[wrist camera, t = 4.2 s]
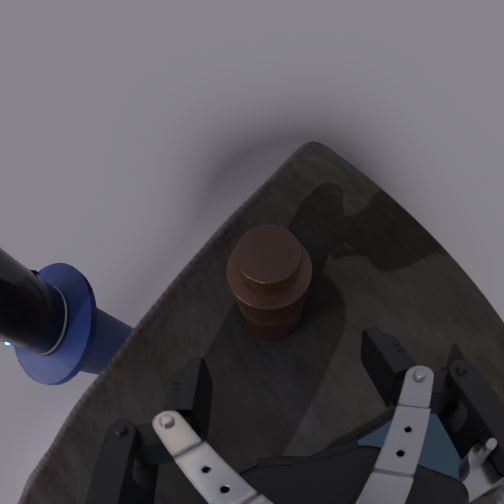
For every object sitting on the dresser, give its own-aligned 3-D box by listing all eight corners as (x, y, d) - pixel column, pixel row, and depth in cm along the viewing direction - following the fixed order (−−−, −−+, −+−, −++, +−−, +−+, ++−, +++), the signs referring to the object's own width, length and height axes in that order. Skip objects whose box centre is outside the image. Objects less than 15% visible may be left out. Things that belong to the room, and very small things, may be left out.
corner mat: (370, 548, 11) (377, 558, 9) (321, 455, 18) (326, 462, 16) (482, 467, 13) (494, 470, 11) (448, 372, 20) (462, 369, 18)
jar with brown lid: (257, 349, 24) (241, 314, 13) (236, 300, 26) (207, 233, 16) (309, 325, 24) (334, 273, 14) (285, 279, 27) (289, 201, 16)
